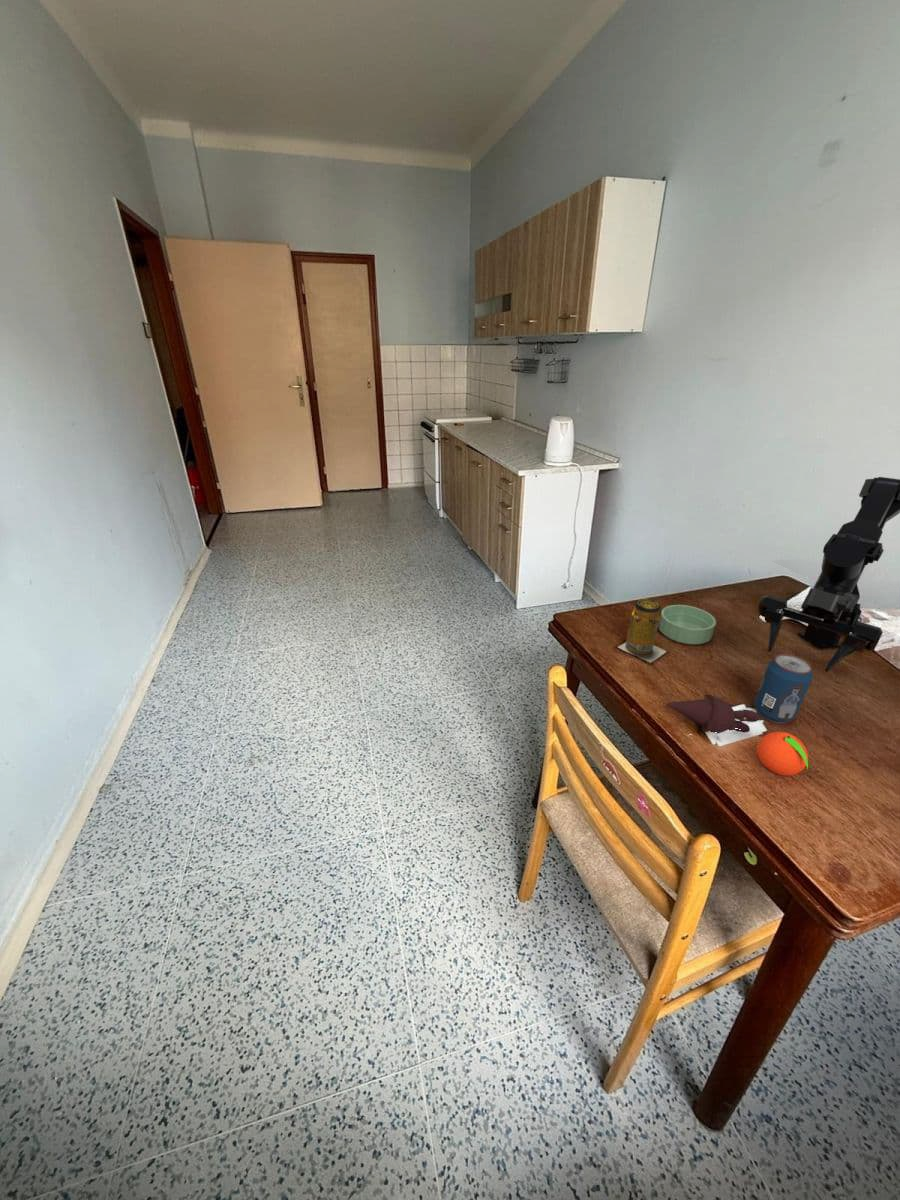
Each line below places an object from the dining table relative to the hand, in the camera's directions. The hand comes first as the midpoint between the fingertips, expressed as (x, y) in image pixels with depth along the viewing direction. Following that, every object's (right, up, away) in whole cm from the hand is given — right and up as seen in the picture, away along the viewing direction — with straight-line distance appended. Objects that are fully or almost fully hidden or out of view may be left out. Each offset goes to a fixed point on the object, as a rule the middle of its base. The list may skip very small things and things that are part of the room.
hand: (796, 660), depth 89 cm
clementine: (-10, -17, -9) cm, 22 cm away
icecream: (-17, -13, 0) cm, 22 cm away
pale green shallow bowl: (-7, +3, +29) cm, 30 cm away
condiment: (-20, -1, +23) cm, 30 cm away
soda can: (-3, -11, +3) cm, 11 cm away
